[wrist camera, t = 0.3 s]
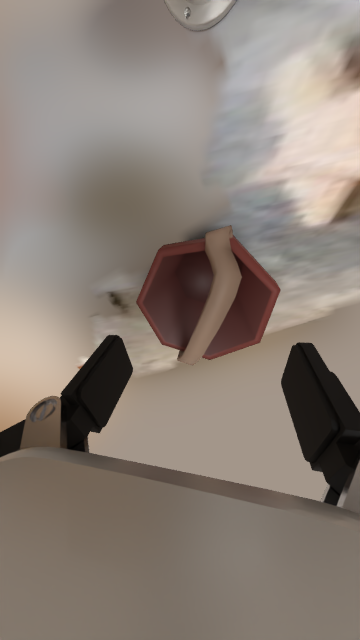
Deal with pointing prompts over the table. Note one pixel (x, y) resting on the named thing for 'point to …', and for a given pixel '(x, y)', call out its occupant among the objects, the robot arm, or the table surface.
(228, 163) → the table surface
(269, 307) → the bucket
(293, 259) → the table surface
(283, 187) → the table surface
